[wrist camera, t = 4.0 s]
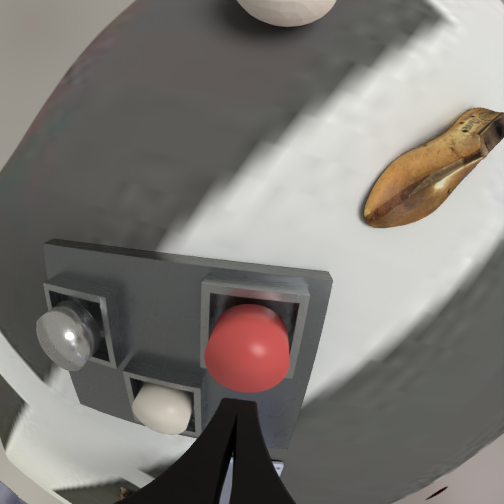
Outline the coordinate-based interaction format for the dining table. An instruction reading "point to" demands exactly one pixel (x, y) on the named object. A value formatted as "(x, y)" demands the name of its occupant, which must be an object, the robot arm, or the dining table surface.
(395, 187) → the shoe last
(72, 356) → the steel button
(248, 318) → the red button
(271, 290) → the slate panel
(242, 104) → the dining table surface
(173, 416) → the ivory button
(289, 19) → the egg
